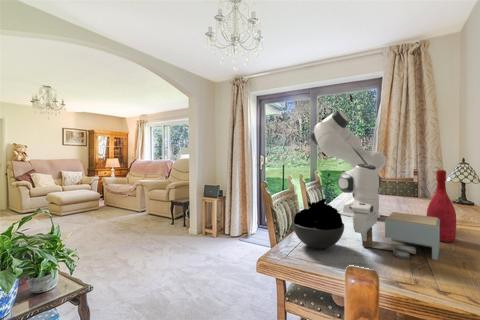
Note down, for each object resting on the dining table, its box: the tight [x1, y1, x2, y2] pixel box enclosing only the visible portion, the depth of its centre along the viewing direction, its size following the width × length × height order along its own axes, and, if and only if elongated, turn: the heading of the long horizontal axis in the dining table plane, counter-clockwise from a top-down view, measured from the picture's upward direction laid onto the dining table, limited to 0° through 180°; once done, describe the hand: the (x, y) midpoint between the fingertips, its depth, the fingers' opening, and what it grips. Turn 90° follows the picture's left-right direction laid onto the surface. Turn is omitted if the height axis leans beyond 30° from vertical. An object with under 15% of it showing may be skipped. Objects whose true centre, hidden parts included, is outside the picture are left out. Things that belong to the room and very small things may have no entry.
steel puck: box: [392, 248, 411, 260], centre depth 88 cm, size 5×5×2 cm
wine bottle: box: [426, 169, 457, 243], centre depth 104 cm, size 10×10×30 cm
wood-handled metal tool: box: [361, 226, 417, 255], centre depth 93 cm, size 18×4×7 cm, turn 59°
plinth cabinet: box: [384, 211, 440, 261], centre depth 94 cm, size 16×14×12 cm
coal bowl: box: [292, 198, 345, 250], centre depth 97 cm, size 20×20×19 cm
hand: (366, 238), depth 97 cm, fingers closed on wood-handled metal tool, 4 cm apart
